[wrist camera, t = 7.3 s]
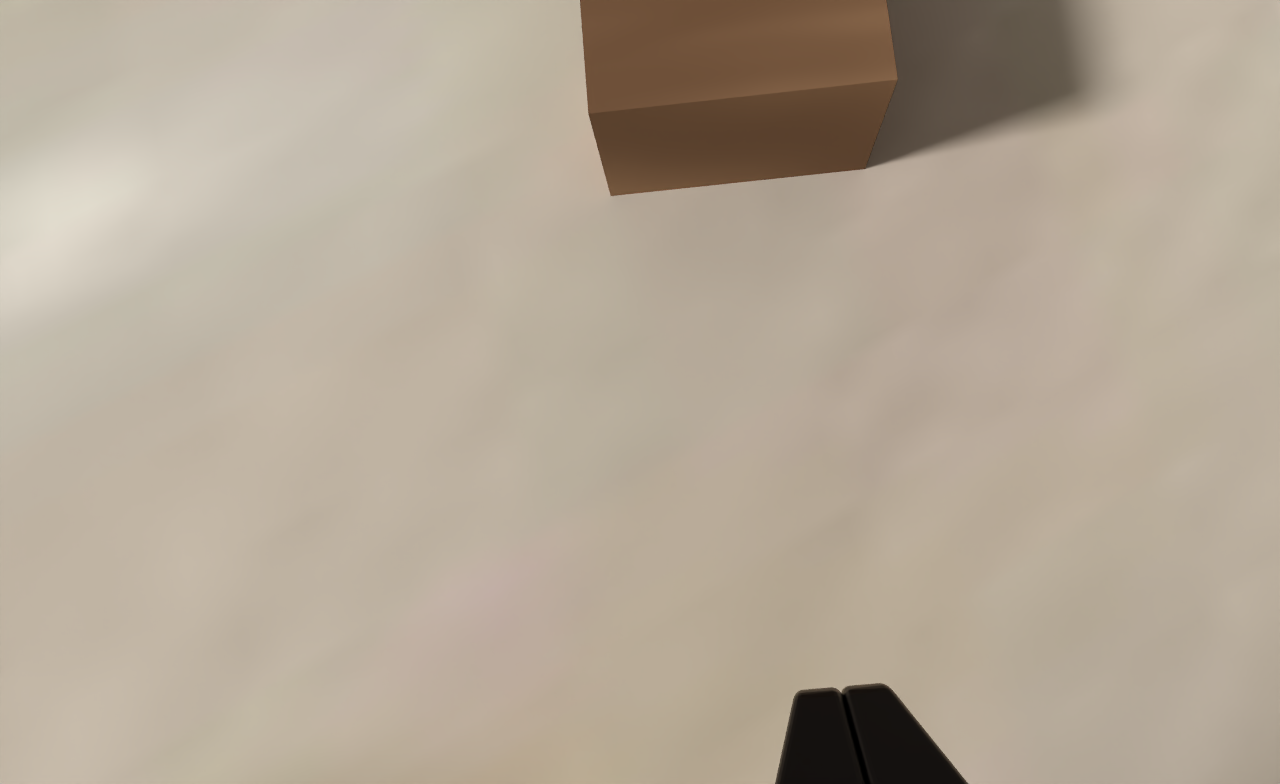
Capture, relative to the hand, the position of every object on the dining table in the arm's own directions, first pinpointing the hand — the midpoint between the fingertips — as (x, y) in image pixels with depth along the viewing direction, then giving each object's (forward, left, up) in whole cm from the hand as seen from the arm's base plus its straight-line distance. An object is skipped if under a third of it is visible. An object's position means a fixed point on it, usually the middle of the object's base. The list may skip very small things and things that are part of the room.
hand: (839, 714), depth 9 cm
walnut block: (+9, -1, -7) cm, 11 cm away
